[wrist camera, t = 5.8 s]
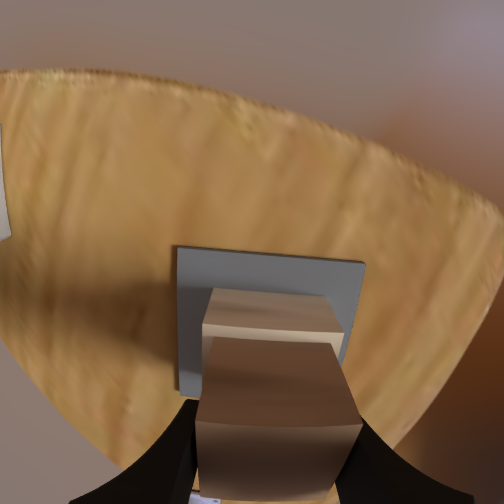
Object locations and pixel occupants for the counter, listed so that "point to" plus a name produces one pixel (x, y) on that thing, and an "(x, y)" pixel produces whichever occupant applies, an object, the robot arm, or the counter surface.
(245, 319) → the maple block
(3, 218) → the small box
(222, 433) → the walnut block
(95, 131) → the counter surface
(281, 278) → the mat
